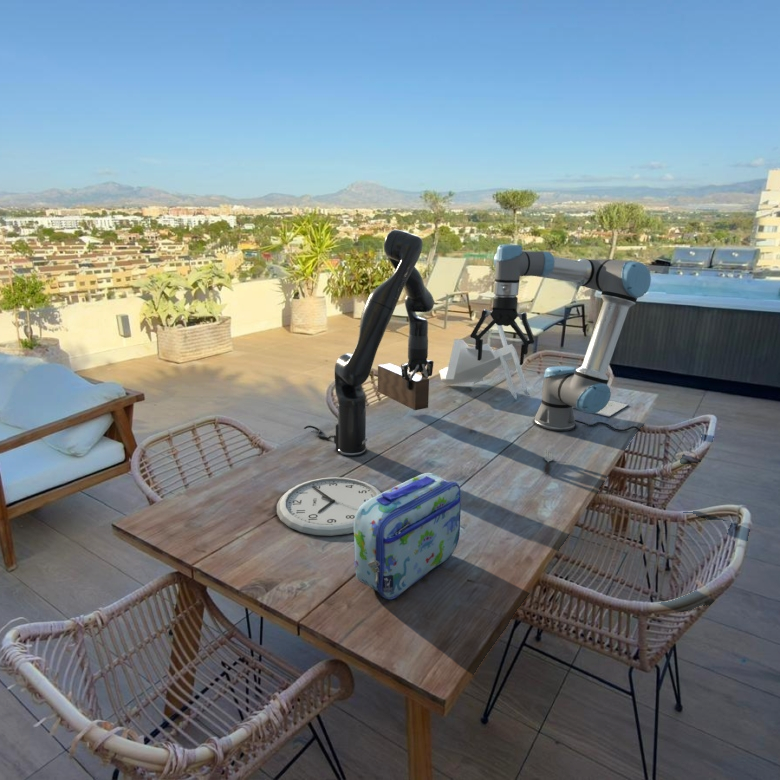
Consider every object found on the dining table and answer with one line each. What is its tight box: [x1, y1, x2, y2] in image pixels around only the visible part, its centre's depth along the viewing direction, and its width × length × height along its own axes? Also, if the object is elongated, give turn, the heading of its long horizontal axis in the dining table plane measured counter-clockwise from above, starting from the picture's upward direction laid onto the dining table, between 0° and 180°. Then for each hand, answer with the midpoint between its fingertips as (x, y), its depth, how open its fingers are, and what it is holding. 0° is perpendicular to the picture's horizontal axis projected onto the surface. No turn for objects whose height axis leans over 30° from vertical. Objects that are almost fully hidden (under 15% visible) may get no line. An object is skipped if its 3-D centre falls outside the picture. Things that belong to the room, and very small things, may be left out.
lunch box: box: [353, 472, 462, 600], centre depth 112 cm, size 26×11×21 cm, turn 134°
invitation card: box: [575, 400, 629, 418], centre depth 226 cm, size 21×1×15 cm
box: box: [377, 363, 430, 411], centre depth 211 cm, size 28×6×12 cm, turn 33°
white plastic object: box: [438, 323, 531, 400], centre depth 245 cm, size 37×45×31 cm
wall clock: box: [276, 476, 383, 537], centre depth 142 cm, size 30×2×30 cm
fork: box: [544, 449, 554, 474], centre depth 169 cm, size 3×16×2 cm, turn 160°
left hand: (416, 388), depth 203 cm, fingers closed on box, 6 cm apart
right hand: (500, 361), depth 170 cm, fingers open, 13 cm apart
